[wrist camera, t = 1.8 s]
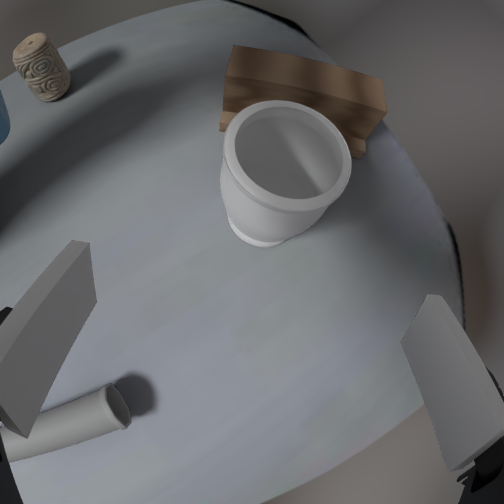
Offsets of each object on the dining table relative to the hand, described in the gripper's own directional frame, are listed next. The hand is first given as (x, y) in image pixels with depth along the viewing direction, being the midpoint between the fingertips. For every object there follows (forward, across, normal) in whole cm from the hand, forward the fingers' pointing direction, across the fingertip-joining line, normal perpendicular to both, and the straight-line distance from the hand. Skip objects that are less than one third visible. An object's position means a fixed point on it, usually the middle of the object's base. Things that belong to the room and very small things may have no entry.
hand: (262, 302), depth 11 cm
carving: (+38, -34, +4) cm, 51 cm away
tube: (+5, -21, -31) cm, 38 cm away
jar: (+27, +2, -8) cm, 28 cm away
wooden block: (+38, +5, +4) cm, 38 cm away
